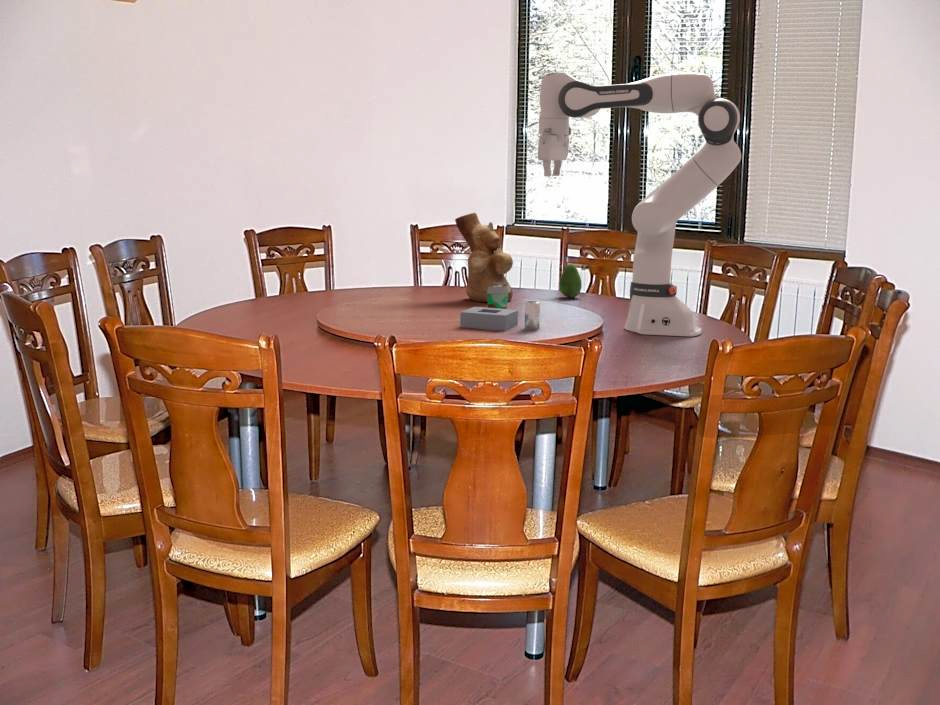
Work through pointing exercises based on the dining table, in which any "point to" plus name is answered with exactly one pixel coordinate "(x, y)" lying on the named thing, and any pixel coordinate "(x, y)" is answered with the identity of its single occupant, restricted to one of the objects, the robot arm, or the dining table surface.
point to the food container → (498, 295)
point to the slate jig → (489, 318)
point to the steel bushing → (532, 315)
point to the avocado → (570, 282)
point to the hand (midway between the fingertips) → (552, 176)
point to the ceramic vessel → (483, 257)
